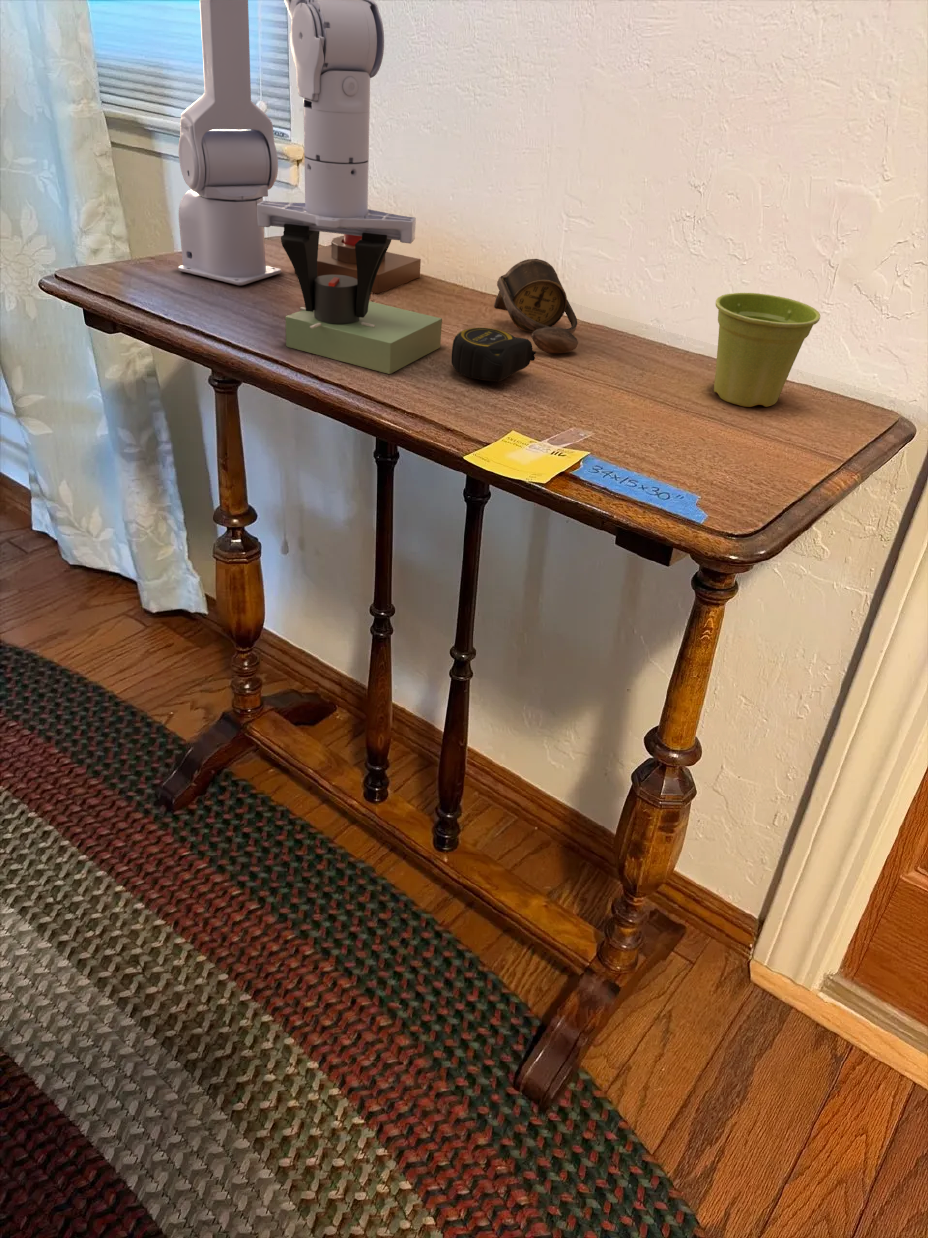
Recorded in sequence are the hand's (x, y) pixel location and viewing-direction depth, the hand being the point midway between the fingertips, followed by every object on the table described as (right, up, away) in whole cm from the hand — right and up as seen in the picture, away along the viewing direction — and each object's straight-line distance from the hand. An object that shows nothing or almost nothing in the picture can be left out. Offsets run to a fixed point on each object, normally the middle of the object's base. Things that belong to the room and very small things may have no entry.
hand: (336, 311), depth 90 cm
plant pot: (+40, -9, 0) cm, 41 cm away
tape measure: (+15, -7, -1) cm, 17 cm away
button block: (-1, +13, +24) cm, 28 cm away
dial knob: (0, 0, 0) cm, 1 cm away
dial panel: (+2, -3, +3) cm, 5 cm away
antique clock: (+20, +1, +10) cm, 22 cm away
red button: (0, +16, +22) cm, 27 cm away
